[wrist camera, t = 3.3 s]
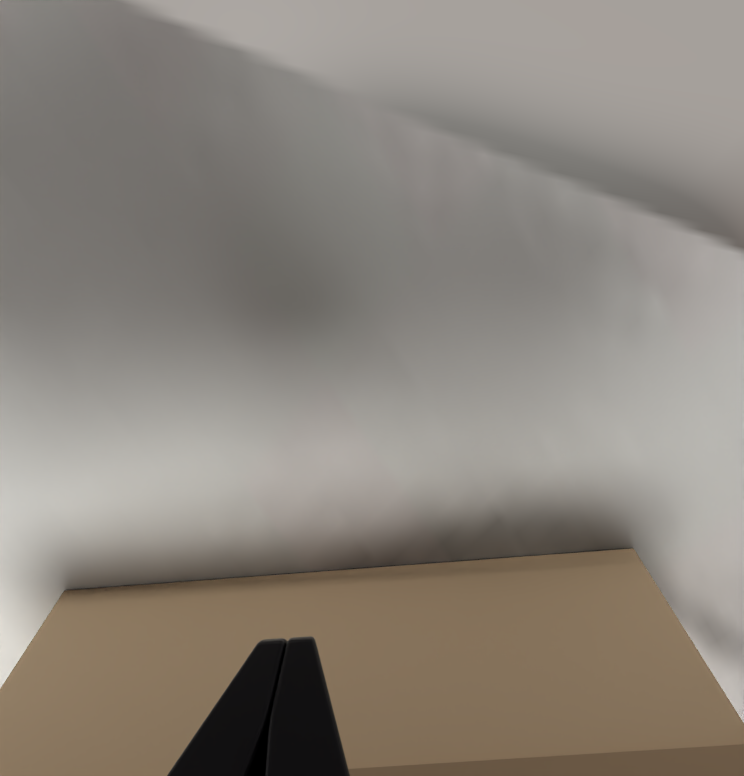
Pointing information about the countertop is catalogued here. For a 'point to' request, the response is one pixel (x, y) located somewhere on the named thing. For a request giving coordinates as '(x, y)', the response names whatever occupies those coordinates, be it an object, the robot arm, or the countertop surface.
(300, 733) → the robot arm
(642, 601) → the carton
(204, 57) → the countertop surface
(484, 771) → the carton lid
